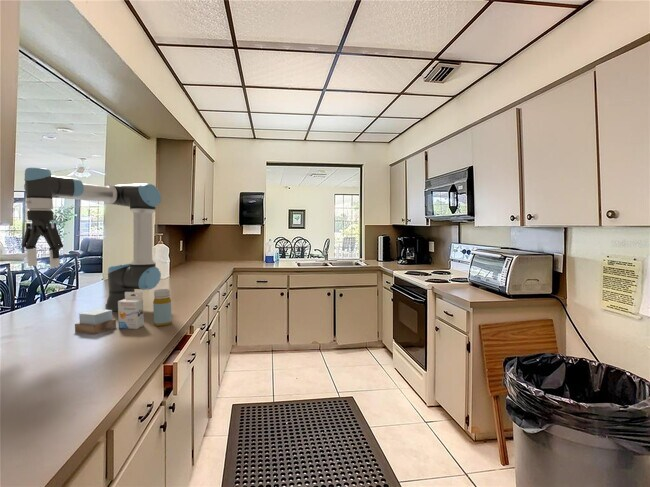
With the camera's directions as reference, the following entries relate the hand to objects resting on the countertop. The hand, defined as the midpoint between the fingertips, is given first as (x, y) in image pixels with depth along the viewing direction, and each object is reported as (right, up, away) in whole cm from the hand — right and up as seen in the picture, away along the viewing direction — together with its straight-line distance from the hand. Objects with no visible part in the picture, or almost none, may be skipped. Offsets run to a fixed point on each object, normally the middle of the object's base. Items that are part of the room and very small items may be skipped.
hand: (43, 266), depth 128 cm
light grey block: (+11, -24, +13) cm, 29 cm away
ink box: (+24, -27, +17) cm, 40 cm away
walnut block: (+11, -28, +13) cm, 33 cm away
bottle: (+35, -27, +21) cm, 49 cm away
